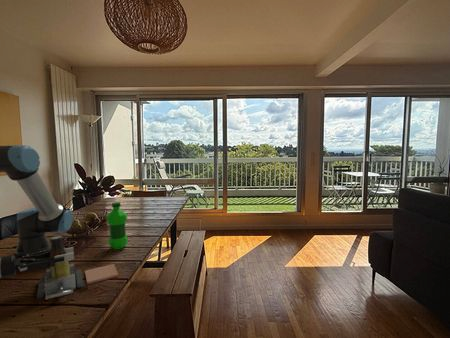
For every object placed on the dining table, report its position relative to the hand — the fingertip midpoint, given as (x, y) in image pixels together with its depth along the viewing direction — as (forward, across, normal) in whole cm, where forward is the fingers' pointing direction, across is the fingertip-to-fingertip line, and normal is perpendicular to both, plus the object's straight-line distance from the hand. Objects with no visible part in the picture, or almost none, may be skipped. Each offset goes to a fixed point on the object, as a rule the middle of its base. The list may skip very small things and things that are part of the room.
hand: (73, 253), depth 109 cm
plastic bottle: (+22, -29, -12) cm, 38 cm away
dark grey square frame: (-5, +4, -12) cm, 14 cm away
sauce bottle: (-5, 0, -12) cm, 13 cm away
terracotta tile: (+10, 0, -12) cm, 16 cm away
